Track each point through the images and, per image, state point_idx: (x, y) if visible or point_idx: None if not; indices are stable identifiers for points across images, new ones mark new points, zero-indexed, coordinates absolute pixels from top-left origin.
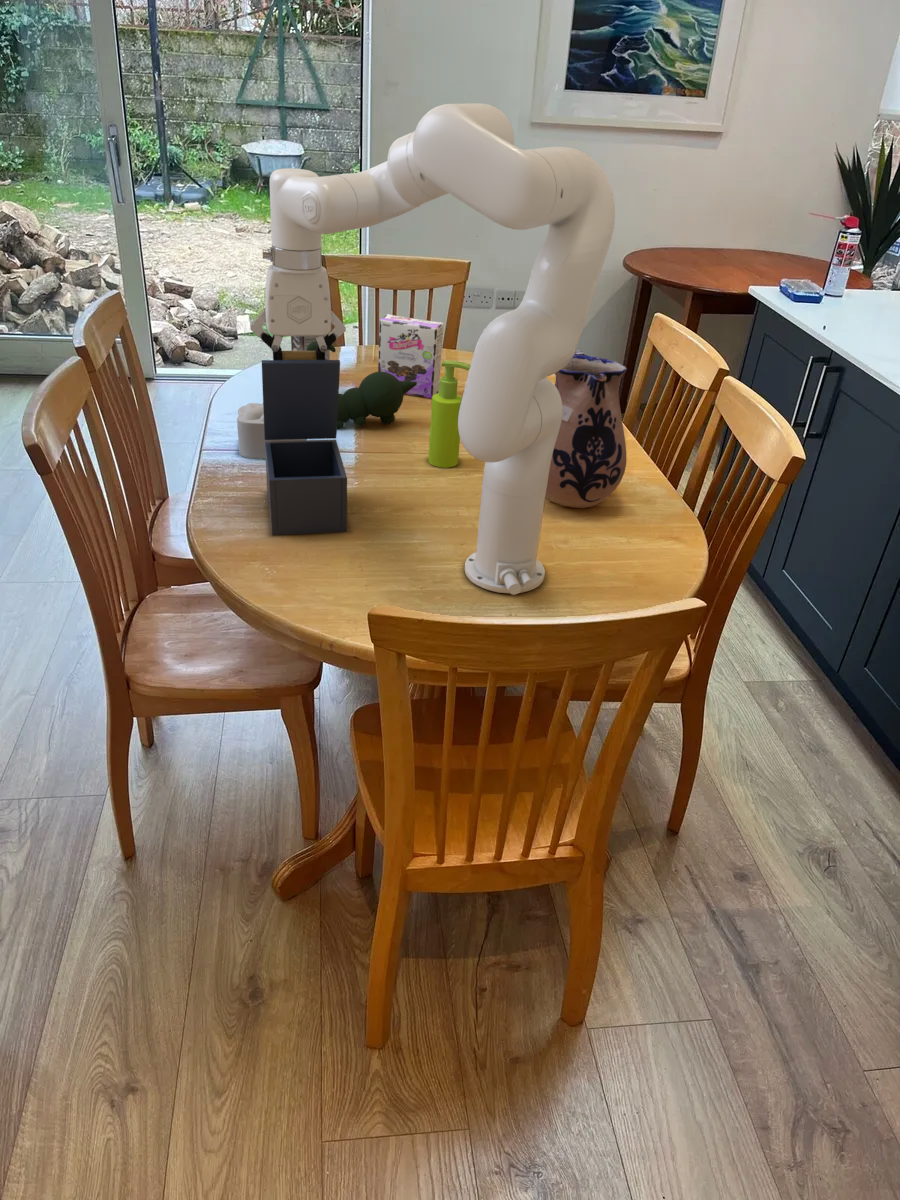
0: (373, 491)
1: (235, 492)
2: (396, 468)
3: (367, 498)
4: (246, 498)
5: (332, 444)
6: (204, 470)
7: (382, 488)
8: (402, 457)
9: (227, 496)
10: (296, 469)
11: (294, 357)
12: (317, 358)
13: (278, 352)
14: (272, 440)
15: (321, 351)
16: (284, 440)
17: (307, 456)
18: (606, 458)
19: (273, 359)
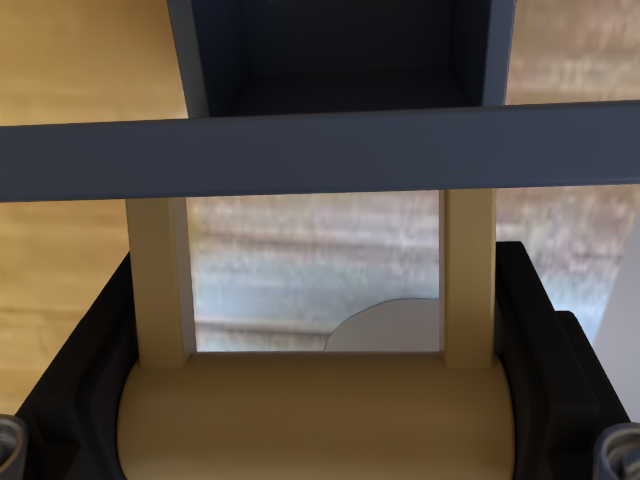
0: (122, 79)
1: (563, 88)
2: (72, 229)
3: (136, 26)
4: (535, 40)
5: (207, 102)
6: (627, 240)
7: (96, 99)
8: (65, 292)
9: (595, 58)
10: (366, 91)
11: (367, 384)
12: (105, 353)
13: (589, 409)
14: (424, 335)
15: (23, 423)
16: (388, 336)
17: (321, 108)
18: None
19: (603, 373)
